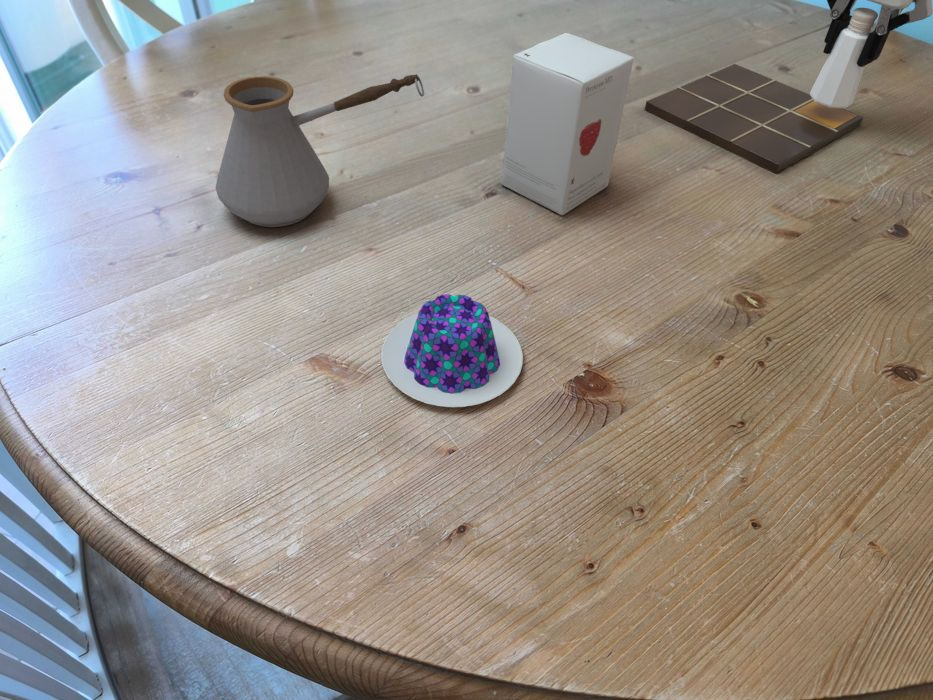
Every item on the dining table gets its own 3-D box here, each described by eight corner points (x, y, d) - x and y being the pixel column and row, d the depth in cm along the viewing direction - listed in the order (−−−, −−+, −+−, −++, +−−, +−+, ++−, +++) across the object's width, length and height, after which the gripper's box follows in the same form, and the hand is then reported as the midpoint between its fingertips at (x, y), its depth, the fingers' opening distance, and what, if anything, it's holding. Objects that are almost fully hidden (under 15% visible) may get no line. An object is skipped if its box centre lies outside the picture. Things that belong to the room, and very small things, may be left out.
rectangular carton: (562, 218, 80) (583, 83, 70) (499, 185, 84) (509, 53, 74) (611, 186, 85) (637, 55, 74) (548, 157, 89) (565, 29, 79)
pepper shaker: (829, 112, 94) (866, 22, 86) (799, 93, 97) (832, 5, 89) (862, 105, 95) (901, 16, 88) (831, 87, 99) (866, 0, 91)
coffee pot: (208, 236, 75) (174, 93, 65) (234, 175, 83) (207, 40, 73) (421, 243, 76) (421, 103, 65) (426, 182, 84) (426, 49, 73)
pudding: (512, 424, 59) (518, 378, 55) (364, 400, 60) (361, 353, 57) (529, 324, 68) (535, 278, 64) (400, 305, 69) (399, 259, 65)
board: (860, 125, 98) (864, 115, 97) (775, 173, 88) (779, 163, 88) (732, 71, 109) (734, 62, 108) (644, 109, 99) (646, 100, 98)
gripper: (1011, -100, 77) (927, 73, 90) (861, -134, 86) (804, 28, 99) (981, -89, 73) (897, 90, 86) (827, -126, 82) (772, 41, 95)
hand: (848, 55), depth 92 cm, fingers closed on pepper shaker, 3 cm apart
